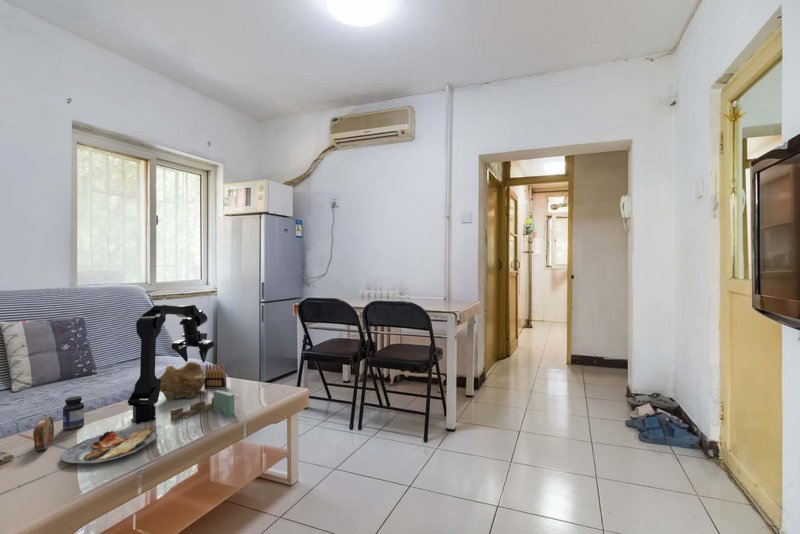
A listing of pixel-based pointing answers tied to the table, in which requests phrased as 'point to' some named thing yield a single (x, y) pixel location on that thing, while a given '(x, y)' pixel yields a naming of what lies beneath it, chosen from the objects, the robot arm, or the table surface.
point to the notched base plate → (191, 410)
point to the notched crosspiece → (224, 402)
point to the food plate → (110, 445)
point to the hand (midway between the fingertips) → (195, 361)
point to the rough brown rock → (182, 381)
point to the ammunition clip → (215, 376)
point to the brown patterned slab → (43, 434)
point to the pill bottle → (73, 413)
